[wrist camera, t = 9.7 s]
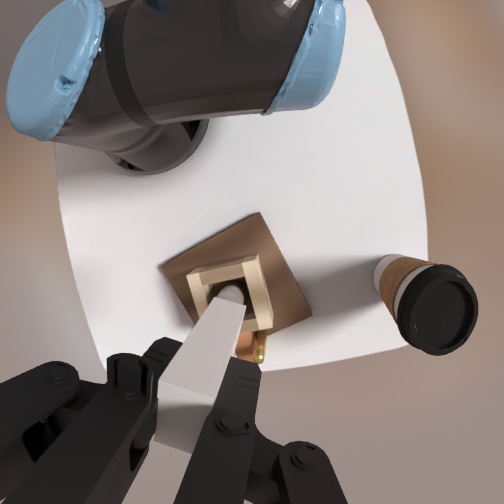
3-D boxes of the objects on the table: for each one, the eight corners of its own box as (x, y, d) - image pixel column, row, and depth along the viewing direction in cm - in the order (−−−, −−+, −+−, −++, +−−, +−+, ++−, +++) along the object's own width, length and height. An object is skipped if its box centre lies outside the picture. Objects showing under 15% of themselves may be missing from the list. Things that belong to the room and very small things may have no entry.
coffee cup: (389, 318, 36) (434, 376, 22) (350, 277, 36) (388, 324, 21) (430, 274, 35) (493, 311, 20) (395, 230, 34) (456, 249, 20)
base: (164, 264, 38) (143, 275, 32) (259, 211, 36) (254, 214, 29) (217, 353, 40) (206, 377, 33) (311, 311, 37) (316, 332, 31)
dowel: (256, 331, 37) (250, 357, 31) (264, 327, 37) (260, 353, 30) (260, 338, 37) (255, 365, 31) (269, 334, 37) (265, 361, 30)
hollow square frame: (196, 267, 36) (186, 275, 33) (258, 253, 35) (255, 260, 31) (224, 358, 38) (218, 373, 34) (282, 348, 37) (281, 364, 33)
